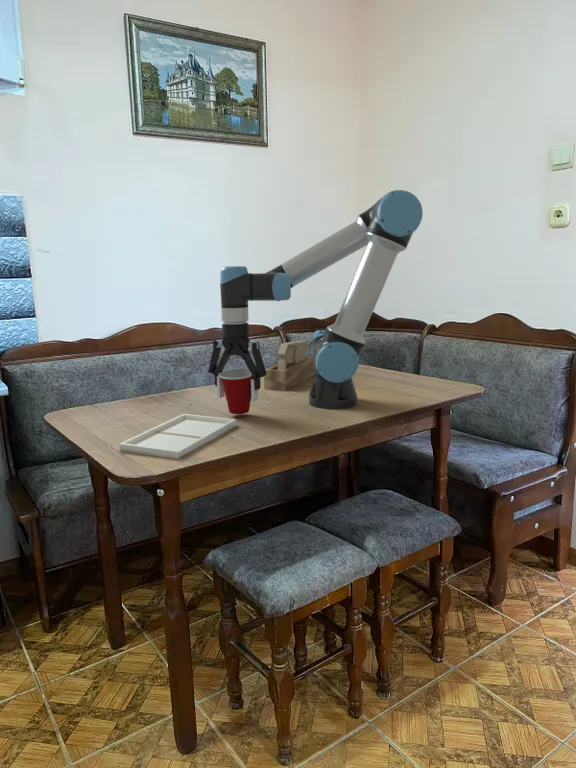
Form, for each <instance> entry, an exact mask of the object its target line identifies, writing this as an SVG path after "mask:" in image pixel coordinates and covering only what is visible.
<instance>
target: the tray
mask: <svg viewBox="0 0 576 768" xmlns="http://www.w3.org/2000/svg"><path fill="white" fill-rule="evenodd" d="M235 427H237V419H235V418H227V417H226V418H225V417H216V416H209V415H208V416H207V415H198V414H189V413H183V414H179V415H178V416H176V417H173V418H171V419H170V420H167V421H165V422H163V423H161V424H158V425H157V426H155V427H152V428H150V429H148V430H146V431H143V432H142V433H140V434H137V435H135V436H133V437H131V438H129V439H126V440H124V441H122V442H120V443H118V445H119V447H118V448H119V452H123V453H131V454H137V455H138V454H139V455H147V456H153V457H161V458H167V459H176V460H180V459H182V458H183V457H185V456H187V455H188V454H190V453H192V452H193V451H195V450H197V449H199V448H201V447H202V446H205V445H206V444H208V443H209V442H211V441H213V440H214V439H217V438H218V437H220V436H221V435H223V434H225V433H226V432H229V431H230V430H232V429H234V428H235Z"/></svg>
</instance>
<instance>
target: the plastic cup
mask: <svg viewBox="0 0 576 768" xmlns="http://www.w3.org/2000/svg"><path fill="white" fill-rule="evenodd" d="M219 377H220V378H221V380H222V383H223V387H224V394H225V396H224V397H225V400H226V402H227V403H226V404H227V408H228V412H229V413H230V414H232V415H243V414H247V413H249V411H250V408H251V402H252V399H251V379H253V376H252V374H251V372H250V370H249V369H248V367H237V368H230V369H225V370H223V371H222V372H220V373H219Z"/></svg>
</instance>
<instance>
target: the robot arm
mask: <svg viewBox="0 0 576 768" xmlns="http://www.w3.org/2000/svg"><path fill="white" fill-rule="evenodd" d="M420 201H421V200H419V198H418V197H417V196H416V195H415V194H414V193H412V192H410V191H408V190H403V189H397V190H396V189H395V190H392V191H389V192H387V193H386V194H384V195H383V196H382V197H380V199H378V200H377V201H376V202H375V203H373V205H372V206H371V207H369V208H368V209H366V210H365V211H364V212H361V214H358V215H357V217H356V220H355V221H353V222H351V223H350V224H349V225H346V226H345V227H343V228H341V229H339V230H338V231H337V232H334V233H332V234H331V235H330V236H327V237H325V238H324V239H322V240H321V241H319V242H317V243H316V244H314V245H312V246H311V247H309V248H306V249H305V250H303V251H302V252H300V253H298V254H296V255H295V256H293V257H291V258H289V259H288V260H286V261H285V262H283V263H281V264H280V265H278V266H276V267H274V268H272V269H271V270H268V271H266V272H265V273H263V272H262V273H253V272H252V273H251V272H249V271H248V267H247V266H244V265H242V266H238V265H235V266H234V265H231V266H229V265H228V266H222V268H221V269H220V275H219V276H220V278H219V279H220V283H219V286H220V304H221V305H220V306H221V308H220V309H221V312H220V313H221V322H223V323H222V324H221V332H222V334H221V335H222V340H221V339H216V340H213V341H212V348H213V349H212V352H211V357H210V362H209V365H208V369H207V372H208V373H209V374H211V375H213V376H214V386H215V387H217V399H222V398H225V397H226V396H225V391H224V387H223V383H222V380H221V378H220V377H219V373H220V372H222V371H224V369H225V367H226V365H227V363H228V361H229V360H230V357H231V356H237V357H240V358H241V359H242V360H243V362H244V363H245V365H246V368H248V369H249V370H250V372H251V374H252V376H253V379H251V403H253V402H254V403H255V402H257V401H259V390H260V389H261V379H262V378H264V376H266V375H267V373H266V370H265V369H266V367H265V363H264V360H263V357H262V354H261V349H260V348H261V347H260V342H259V341H254V342H253V341H251V340H250V338H249V336H250V323H248V321H249V320H250V319H249V301H251V302H253V301H256V302H257V301H259V302H261V301H262V302H263V301H265V302H269V301H272V302H273V301H274V302H275V301H276V302H281V301H288V300H290V299H291V296H292V295H291V293H292V292H291V291H292V290H291V289H292V288H294V287H295V286H297V285H299V284H301V283H303V282H304V281H306V280H308V279H310V278H311V277H313V276H315V275H317V274H318V273H320V272H322V271H324V270H326V269H327V268H329V267H331V266H332V265H334V264H336V263H337V262H339V261H341V260H343V259H345V258H346V257H349V256H350V255H352V254H354V253H355V252H357V251H359V250H361V249H363V248H365V249H364V252H363V254H362V256H361V259H360V262H359V263H358V266H357V269H356V270H355V273H354V276H353V277H352V281H351V283H350V284H349V285H350V286H349V287H348V290H347V293H346V295H345V297H344V300H343V302H342V305H341V307H340V309H339V312H338V314H337V317H336V319H335V322H334V323H333V324H331V325H328V326H327V327H326V328H325V329H324V330H323V329H321V330H318V329H317V330H316V331H314V333H313V340H312V341H313V348H314V349H313V357H314V375H313V377H314V378H313V381H312V385H311V389H310V391H309V395H308V403H309V405H310V406H311V407H315V408H319V409H324V410H325V409H326V410H341V408H342V409H349V408H353V407H355V406H356V404H357V405H358V394H357V391H356V387H355V384H354V381H353V376H354V375H355V374H356V372H357V370H358V368H359V364H360V362H359V360H360V357H361V354H362V352H363V349H364V347H365V345H366V339H365V338H364V333H365V332H366V329H367V327H368V325H369V321H370V319H371V317H372V314H374V313H373V312H374V311H375V307H376V306H377V303H378V301H379V298H380V295H381V294H382V291H383V289H384V288H385V284H386V281H387V280H388V277H389V276H390V274H391V270H392V268H393V266H394V264H395V261H396V259H397V257H398V254H399V253H401V252H403V251H406V249H407V247H408V245H409V243H410V241H411V238H412V236H413V234H414V233H415V231H416V230H417V229H418V228H419V227H420V225H421V223H422V219H423V206H422V203H421V202H420ZM222 347H223V348H224V351H223V353H222V356H221V357H220V354H221V352H222V351H221V350H222ZM249 349H250V350H251V352H252V356H253V358H252V356H251V353H250V351H249ZM219 359H220V360H219ZM352 406H353V407H352ZM348 407H349V408H348Z"/></svg>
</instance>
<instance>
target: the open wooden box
mask: <svg viewBox="0 0 576 768" xmlns="http://www.w3.org/2000/svg"><path fill="white" fill-rule="evenodd" d="M277 369H278V363H276V364H274V365H271V366H269V367H267V368H265V370H266V373H267V375H266V376H264V377H263V387H264V389H263V390H264V391H265V390H267V391H280V392H281V391H282V392H285V391H287V390H289V389H290V388H292V387H294V386H296V385H298V384H299V383H302V382H303V381H305V380H307V379H309V378H311V377H312V376H314V355H313V356H312V355H311V356H310V355H306V359H304V360H302V361H300V362H297V363H295V364H293V365H291V366H288V367H287V368H285V369H283V370H277Z"/></svg>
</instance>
